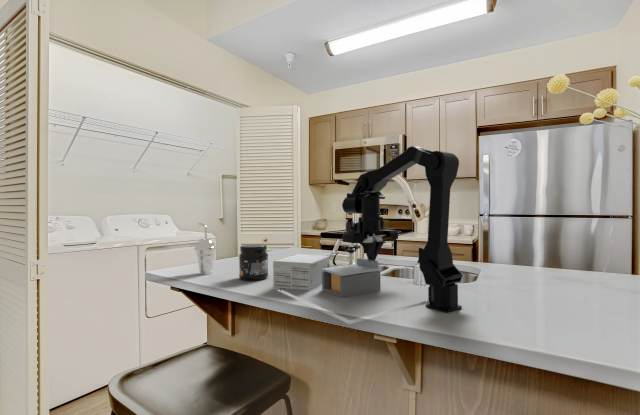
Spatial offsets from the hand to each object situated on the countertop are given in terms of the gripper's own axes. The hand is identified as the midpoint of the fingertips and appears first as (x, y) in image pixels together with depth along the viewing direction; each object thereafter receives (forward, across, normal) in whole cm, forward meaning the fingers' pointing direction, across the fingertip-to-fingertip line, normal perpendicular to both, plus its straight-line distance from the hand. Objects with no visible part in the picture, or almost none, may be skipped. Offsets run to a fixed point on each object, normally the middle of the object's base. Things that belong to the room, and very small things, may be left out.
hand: (371, 263), depth 105 cm
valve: (+8, -4, -15) cm, 18 cm away
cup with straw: (+8, +36, -57) cm, 68 cm away
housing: (+8, +8, 0) cm, 11 cm away
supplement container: (+8, +24, -37) cm, 45 cm away
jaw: (+7, +12, 0) cm, 14 cm away
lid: (+1, +8, 0) cm, 8 cm away
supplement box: (+8, +15, -17) cm, 24 cm away
